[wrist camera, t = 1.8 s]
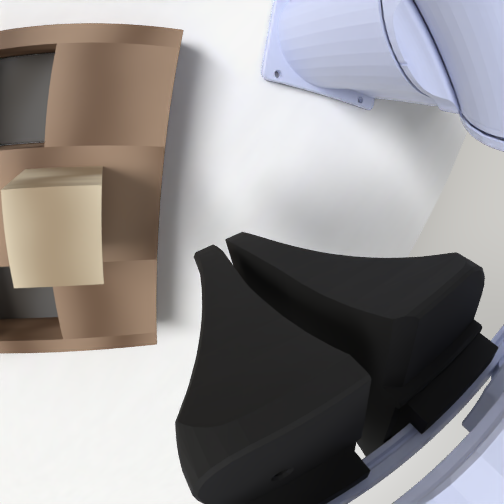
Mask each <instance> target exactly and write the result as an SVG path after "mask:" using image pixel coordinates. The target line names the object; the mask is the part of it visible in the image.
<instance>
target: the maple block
mask: <svg viewBox="0 0 504 504" xmlns="http://www.w3.org/2000/svg"><path fill="white" fill-rule="evenodd" d="M102 172H103V166H90V167H58V168H38V169H25V170H24V171H23V172H21V173H20V174H19V175H18V176H17V177H15V178H14V179H13V180H12V181H11V182H9V183H8V184H7V185H6V186H5V187H4V188H3V189H1V199H2V212H3V222H4V231H5V239H6V246H7V253H8V259H9V265H10V270H11V276H12V281H13V286H14V288H33V287H56V286H76V285H95V284H104V278H103V258H102Z"/></svg>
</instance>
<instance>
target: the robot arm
mask: <svg viewBox="0 0 504 504" xmlns="http://www.w3.org/2000/svg"><path fill="white" fill-rule="evenodd" d="M275 71H277V72H278V73H279V76H278V78H276V77H275ZM261 75H262V77H263V78H264V79H266V80H268V81H273V82H277V83H281V84H285V85H289V86H293V87H296V88H300V89H304V90H307V91H311V92H314V93H318V94H321V95H324V96H327V97H331V98H334V99H337V100H340V101H343V102H346V103H349V104H352V105H355V106H358V107H361V108H363V109H367V110H371V109H372V108H373V106H374V100H375V98H378V99H387V100H395V101H403V102H410V103H417V104H423V105H429V106H438V107H439V109H440V110H442V111H447V112H452V113H457V114H460V118H461V121H462V123H463V125H464V127H465V128H466V130H467V131H468V132H469V133H470V134H471V135H472V136H473V137H474V138H475V139H477V140H478V141H480V142H481V143H483V144H485V145H487V146H489V147H492V148H494V149H497V150H500V151H503V152H504V0H274V2H273V7H272V13H271V18H270V24H269V29H268V35H267V40H266V46H265V52H264V57H263V63H262V69H261ZM358 98H359V102H358ZM225 240H226V243H227V247H228V250H229V253H230V256H231V260H232V263H233V265H232V263H231V262H230V260H229V259H228V258H227V256H226V255H225V254H224V252H223V251H222V250H221V249H219V248H218V247H217V246H215V245H211V246H209V247H207V248H205V249H202V250H200V251H198V252H196V253H195V255H194V259H195V261H196V264H197V267H198V269H199V272H200V277H201V285H202V321H201V331H200V338H199V345H198V350H197V356H196V360H195V364H194V368H193V371H192V375H191V379H190V383H189V386H188V389H187V392H186V395H185V398H184V400H183V403H182V406H181V408H180V411H179V414H178V416H177V419H176V422H175V427H176V441H177V448H178V455H179V459H180V463H181V467H182V471H183V474H184V476H185V479H186V481H187V483H188V486H189V488H190V490H191V493H192V495H193V496H194V497H195V498H196V499H197V500H198V501H200V502H202V503H204V504H348V503H349V502H351V501H352V500H354V499H355V498H357V497H358V496H360V495H361V494H363V493H364V492H366V491H367V490H369V489H370V488H372V487H373V486H374V485H376V484H377V483H379V482H380V481H381V480H383V479H384V478H385V477H387V476H388V475H389V474H391V473H392V472H393V471H395V470H396V469H397V468H398V467H400V466H401V465H402V464H403V463H405V462H406V461H407V460H408V459H409V458H411V457H412V456H413V455H414V454H415V453H417V452H418V451H419V450H420V449H421V448H422V447H423V446H425V444H427V443H428V442H429V441H430V440H431V439H432V438H433V437H434V436H435V435H436V434H438V433H439V432H440V431H441V430H442V429H443V428H444V427H445V426H446V425H447V424H448V423H449V422H450V421H451V420H452V419H453V418H454V417H455V416H456V415H457V414H458V413H459V412H460V410H461V409H462V408H463V407H464V406H465V405H466V404H467V403H468V402H469V401H470V400H471V399H472V397H473V396H474V395H475V394H476V393H477V392H478V391H479V389H480V388H481V387H482V386H483V385H484V384H485V382H486V381H487V380H488V379H489V377H490V376H491V379H492V380H491V381H490V383H489V384H488V386H487V387H486V388H485V389H484V391H483V393H482V395H481V397H480V398H479V400H478V401H477V403H476V404H475V406H474V407H473V409H472V410H471V412H470V413H469V414H468V415H467V417H466V418H465V419H464V420H463V422H462V425H463V426H464V427H465V428H466V429H467V430H468V431H469V432H470V433H469V434H468V435H467V436H466V437H465V438H464V439H463V440H462V441H461V442H460V444H459V445H458V446H457V447H456V448H455V449H454V450H453V451H452V452H451V453H450V454H449V455H448V456H447V457H446V458H445V459H444V460H443V461H442V462H440V463H439V464H438V465H437V466H436V467H435V468H434V469H433V470H432V471H431V472H430V473H428V474H427V475H426V476H425V477H424V478H423V479H422V480H421V481H420V482H418V483H417V484H416V485H415V486H414V487H412V488H411V489H410V490H409V491H407V492H406V493H405V494H404V495H402V496H401V497H400V498H399V499H397V500H396V501H395V502H393V503H392V504H504V325H503V326H502V327H501V329H500V330H499V331H498V333H497V334H496V335H495V336H494V338H493V339H492V340H491V341H490V340H488V339H487V338H486V337H484V336H483V335H482V334H480V332H481V329H482V326H481V324H479V323H478V322H476V321H475V320H474V316H475V314H476V311H477V308H478V305H479V301H480V298H481V295H482V291H483V287H484V279H485V278H484V277H485V276H484V272H483V268H482V267H480V266H478V265H477V264H475V263H474V262H472V261H470V260H469V259H467V258H465V257H463V256H462V255H460V254H458V253H448V254H440V255H432V256H424V257H408V258H369V257H353V256H344V255H336V254H329V253H323V252H317V251H313V250H308V249H303V248H299V247H295V246H291V245H287V244H283V243H280V242H276V241H273V240H269V239H266V238H263V237H259V236H256V235H252V234H249V233H245V232H241V233H239V234H236V235H234V236H232V237H230V238H227V239H225ZM356 442H357V444H358V445H359V447H360V448H361V450H362V451H363V453H364V454H365V456H366V457H365V458H364V459H362V460H361V458H360V457H359V456H358V455H357V454H356V453H355V446H356Z"/></svg>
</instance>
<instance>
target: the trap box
mask: <svg viewBox="0 0 504 504" xmlns="http://www.w3.org/2000/svg"><path fill="white" fill-rule="evenodd" d="M182 35H183V30H180V29H172V28H164V27H154V26H143V25H129V24H103V23H82V24H56V25H43V26H32V27H24V28H16V29H9V30H3V31H0V58H5V59H0V145H1V144H11V143H23V142H38V141H45V142H43V143H28V144H15V145H4V146H0V353H45V352H68V351H85V350H100V349H113V348H124V347H135V346H145V345H155V344H157V325H156V287H157V249H158V228H159V211H160V197H161V184H162V173H163V162H164V153H165V144H166V135H167V127H168V119H169V112H170V105H171V98H172V91H173V85H174V79H175V73H176V67H177V61H178V56H179V50H180V45H181V40H182ZM45 53H55V54H45ZM33 54H41V55H33ZM23 55H30V56H23ZM14 56H20V57H14ZM7 57H12V58H7ZM90 166H103V172H102V258H103V278H104V284H95V285H76V286H56V287H33V288H14V286H13V281H12V276H11V270H10V265H9V259H8V253H7V246H6V239H5V231H4V222H3V212H2V199H1V189H3V188H4V187H5V186H6V185H7V184H8V183H9V182H11V181H12V180H13V179H14V178H15V177H17V176H18V175H19V174H20V173H21V172H23V171H24V170H25V169H38V168H58V167H90Z"/></svg>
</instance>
